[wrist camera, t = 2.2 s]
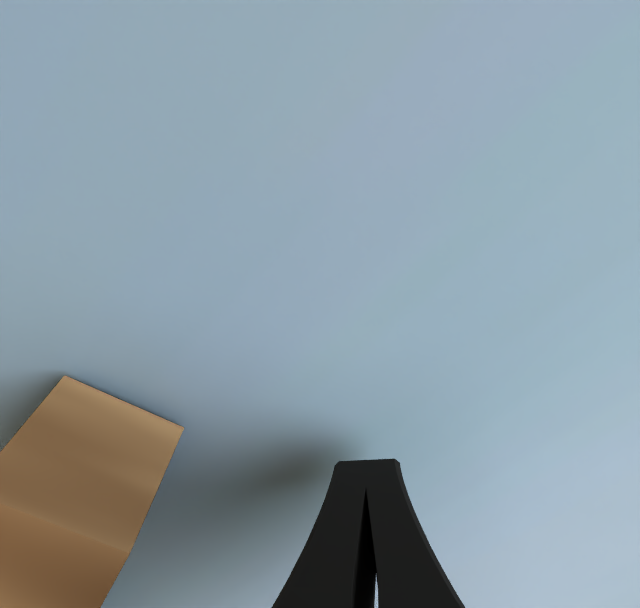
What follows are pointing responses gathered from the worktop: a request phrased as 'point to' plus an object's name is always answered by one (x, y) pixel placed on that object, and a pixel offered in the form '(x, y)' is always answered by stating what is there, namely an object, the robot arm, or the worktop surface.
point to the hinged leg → (76, 495)
